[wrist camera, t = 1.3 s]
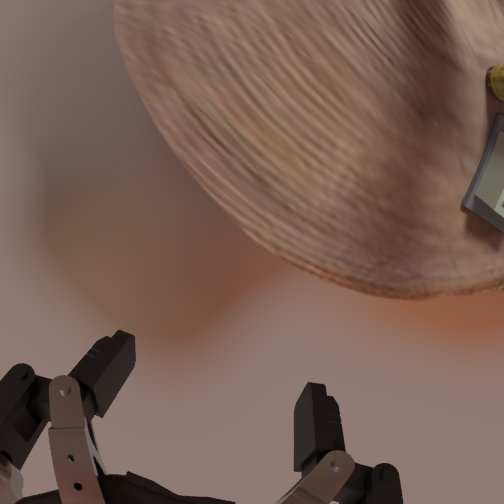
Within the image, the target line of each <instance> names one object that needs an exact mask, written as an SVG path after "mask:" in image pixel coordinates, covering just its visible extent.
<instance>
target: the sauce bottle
mask: <svg viewBox="0 0 504 504" xmlns="http://www.w3.org/2000/svg"><path fill="white" fill-rule="evenodd" d="M487 84H488V86H489V89H490V91H491V93H492V94H493V95H494V96H495V97H496V98H497V99H499V100H501V101H504V66H502V65H496V66H493V67H490V68H489V70H488V73H487Z"/></svg>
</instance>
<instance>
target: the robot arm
mask: <svg viewBox="0 0 504 504" xmlns="http://www.w3.org/2000/svg"><path fill="white" fill-rule="evenodd" d="M135 353H136V352H135V336H134V335H132V334H129V333H127V332H124V331H122V330H118V331H117V332H116V333H115V334H114V335H113V336H112V338H111V337H108V336H106V337H104V338H102V339H100V340H98V341H97V342H96V343H95V344H94V345H93V347H92V348H91V349H90V350H89V351H88V352H87V354H86V355H85V356H84V357H83V358H82V359H81V360H80V361H79V363H78V364H77V365H76V366H75V367H74V368H73V370H72V371H71V372H70V373H69V374H68V375H67V376H66V375H61V376H57V377H55V378H54V379H49V378H45V377H41V376H37V375H35V373H34V370H33V369H32V367H31V366H29V365H27V364H24V363H23V364H22V363H21V364H17V365H15V366H13V367H12V368H11V369H10V370H9V371H8V373H7V374H6V375H5V376H4V377H3V379H2V380H1V381H0V504H235V502H231V501H226V500H220V499H216V498H211V497H195V496H181V495H177V494H175V493H173V492H171V491H169V490H168V489H166V488H164V487H162V486H161V485H159V484H157V483H155V482H154V481H152V480H149V479H146V478H144V477H141V476H139V475H136V474H134V473H131V472H129V471H128V472H127V474H126V475H118V474H108V475H107V472H106V469H105V466H104V464H103V461H102V459H101V456H100V453H99V449H98V446H97V441H96V437H95V433H94V429H93V425H92V418H93V417H94V415H97V416H99V417H101V418H103V417H104V415H105V413H106V411H107V410H108V408H109V407H110V405H111V403H112V402H113V400H114V399H115V397H116V395H117V394H118V392H119V391H120V389H121V387H122V386H123V384H124V383H125V381H126V379H127V377H128V376H129V375H130V373H131V371H132V370H133V368H134V365H135V361H136V354H135ZM48 421H50V422H51V428H49V429H48V435H49V443H50V450H51V456H52V462H53V467H54V472H55V476H56V481H57V485H58V489H57V490H54V491H50V492H46V493H42V494H37V495H33V496H28V497H24V498H23V495H22V488H23V477H22V474H21V472H20V470H21V468H22V466H23V464H24V462H25V461H26V459H27V457H28V455H29V453H30V452H31V450H32V448H33V446H34V445H35V443H36V441H37V439H38V438H39V436H40V434H41V433H42V431H43V429H44V427H45V426H46V425H47V423H48ZM294 471H295V472H302V478H301V479H300V480H299V481H298V482H297V483H296V484H295V485H294V486H293V487H292V488H291V489H290V490H289V491H288V492H287V493H286V494H285V495H284V496H282V498H280V499H279V500H278V501H277V502H276V503H275V504H329V503H330V502H331V501H336V502H339V504H403V498H402V490H401V484H400V478H399V473H398V471H397V469H396V468H395V467H394V466H393V465H391V464H388V463H381V464H378V465H377V466H376V467H374V468H372V467H369V466H365V465H361V464H358V463H356V462H354V460H353V458H352V457H351V456H350V455H349V454H348V453H346V450H345V444H344V437H343V430H342V424H341V418H340V412H339V406H338V404H337V402H336V401H335V399H334V398H333V396H327V392H326V386H325V385H324V384H318V383H312V382H308V383H307V385H306V386H305V388H304V390H303V392H302V394H301V395H300V397H299V399H298V401H297V402H296V405H295V409H294Z"/></svg>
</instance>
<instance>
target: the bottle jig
mask: <svg viewBox="0 0 504 504" xmlns="http://www.w3.org/2000/svg"><path fill="white" fill-rule="evenodd" d="M462 204H463V205H464V206H465V207H467V208H468V209H470V210H471V211H473V212H474V213H476V214H477V215H479V216H480V217H482V218H483V219H485V220H486V221H488V222H489V223H490V224H492V225H493V226H495V227H496V228H497V229H499V230H500V231H501V232H503V233H504V116H503V115H502V114H499V113H497V115H496V119H495V122H494V125H493V128H492V131H491V134H490V137H489V140H488V143H487V146H486V148H485V151H484V154H483V156H482V159H481V161H480V164H479V166H478V169H477V171H476V173H475V176H474V178H473V180H472V182H471V185H470V187H469V189H468V191H467V193H466V195H465V197H464V199H463V201H462Z"/></svg>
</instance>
